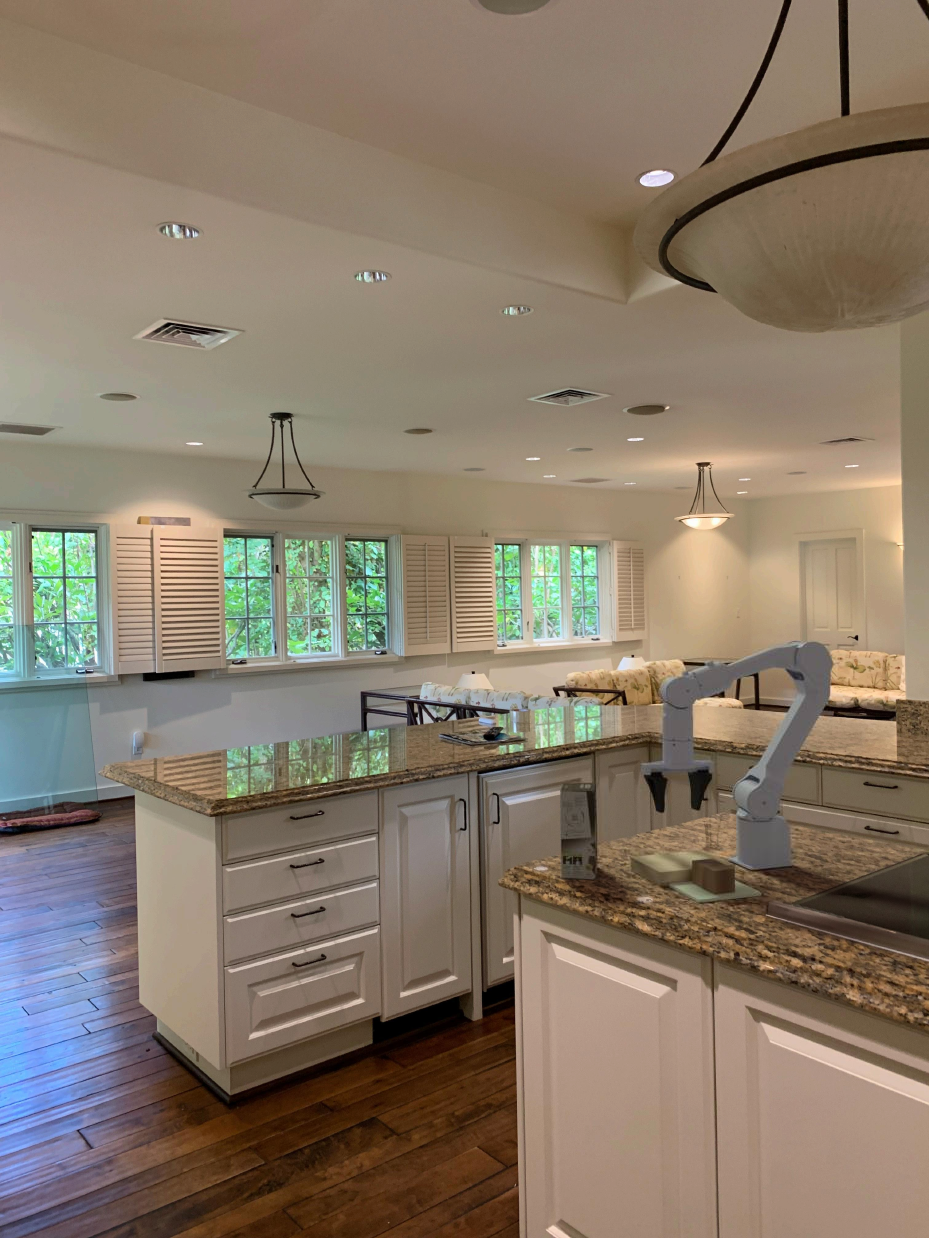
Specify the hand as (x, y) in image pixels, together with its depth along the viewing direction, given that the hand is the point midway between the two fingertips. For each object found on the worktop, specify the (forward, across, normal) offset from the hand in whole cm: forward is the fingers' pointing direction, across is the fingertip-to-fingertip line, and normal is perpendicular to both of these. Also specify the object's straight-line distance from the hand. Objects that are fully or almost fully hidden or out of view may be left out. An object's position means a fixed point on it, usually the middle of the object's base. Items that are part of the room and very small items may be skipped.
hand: (677, 810), depth 168 cm
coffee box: (+11, +20, -2) cm, 22 cm away
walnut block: (+8, +2, +13) cm, 15 cm away
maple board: (+10, +2, +6) cm, 12 cm away
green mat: (+10, +2, +16) cm, 20 cm away
